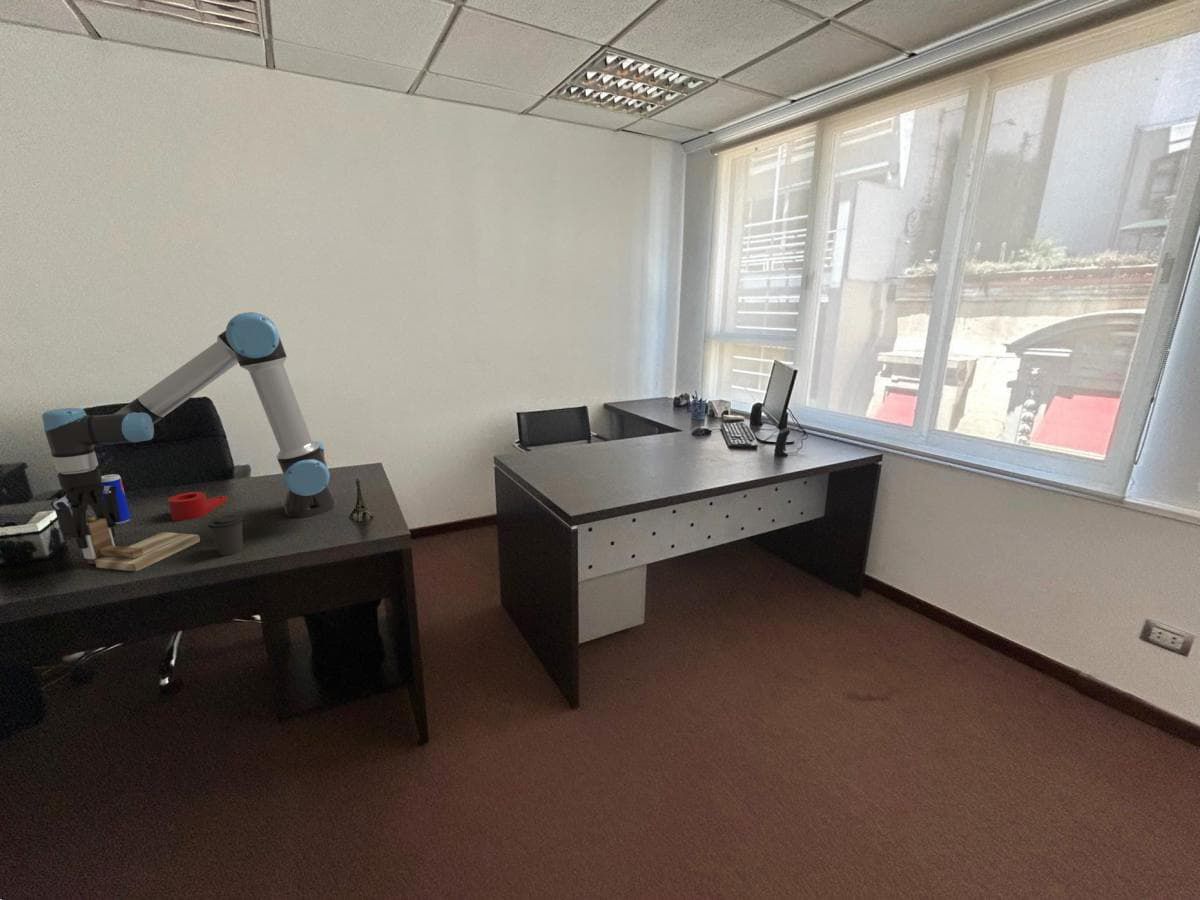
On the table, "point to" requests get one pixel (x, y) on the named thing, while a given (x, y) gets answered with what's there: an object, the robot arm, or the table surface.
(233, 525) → the coffee cup
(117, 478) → the beverage can
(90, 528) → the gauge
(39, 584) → the table surface
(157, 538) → the board
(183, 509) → the lever
